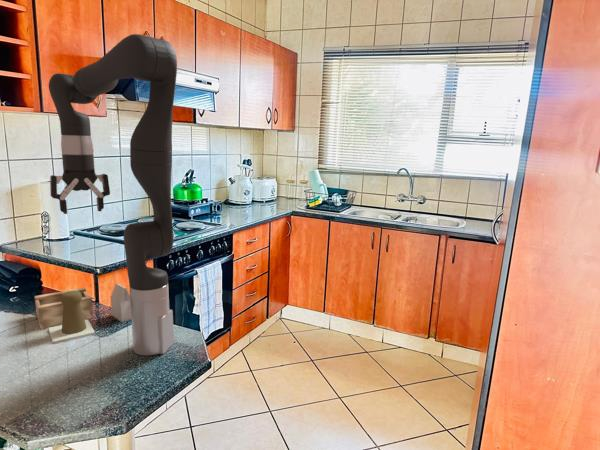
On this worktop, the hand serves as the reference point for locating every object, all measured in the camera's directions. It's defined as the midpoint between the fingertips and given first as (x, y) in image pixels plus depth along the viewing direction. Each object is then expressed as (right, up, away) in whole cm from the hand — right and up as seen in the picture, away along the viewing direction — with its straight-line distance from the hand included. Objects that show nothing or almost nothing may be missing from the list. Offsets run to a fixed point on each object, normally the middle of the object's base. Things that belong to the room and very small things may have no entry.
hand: (82, 212), depth 113 cm
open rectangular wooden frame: (-11, -31, +11) cm, 35 cm away
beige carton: (+6, -32, +12) cm, 34 cm away
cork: (-3, -33, +1) cm, 33 cm away
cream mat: (-4, -33, +1) cm, 34 cm away
